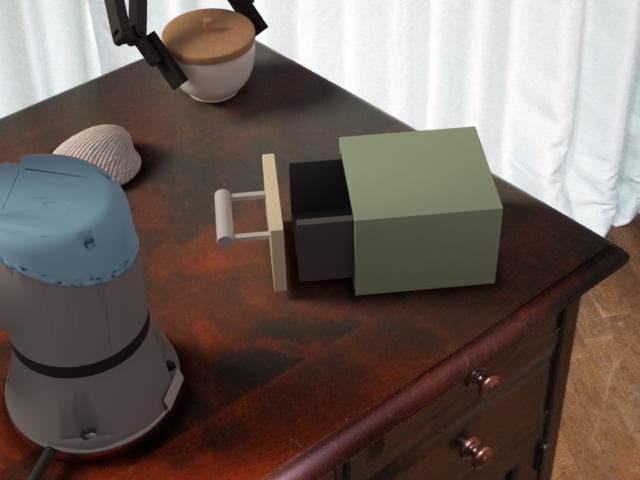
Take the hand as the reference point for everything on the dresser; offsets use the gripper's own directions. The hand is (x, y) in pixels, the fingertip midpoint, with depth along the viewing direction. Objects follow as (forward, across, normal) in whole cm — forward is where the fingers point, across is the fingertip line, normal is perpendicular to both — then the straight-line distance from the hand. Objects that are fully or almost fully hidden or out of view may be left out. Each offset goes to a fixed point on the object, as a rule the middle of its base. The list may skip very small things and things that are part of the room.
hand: (222, 58), depth 132 cm
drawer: (+21, -16, -15) cm, 30 cm away
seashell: (+2, -19, +5) cm, 20 cm away
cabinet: (+27, -8, -20) cm, 34 cm away
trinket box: (+2, 0, +5) cm, 5 cm away
